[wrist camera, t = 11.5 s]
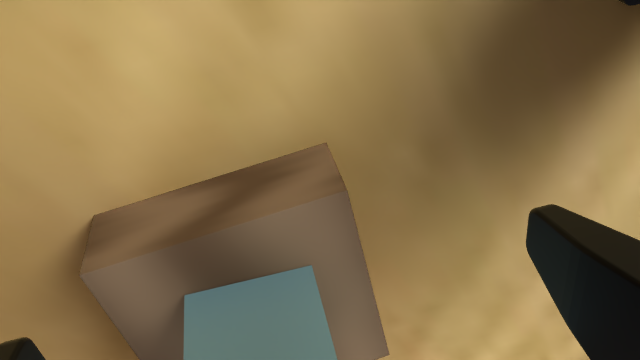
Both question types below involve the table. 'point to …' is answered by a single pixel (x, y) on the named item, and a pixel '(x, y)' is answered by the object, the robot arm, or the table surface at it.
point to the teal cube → (259, 320)
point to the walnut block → (234, 252)
